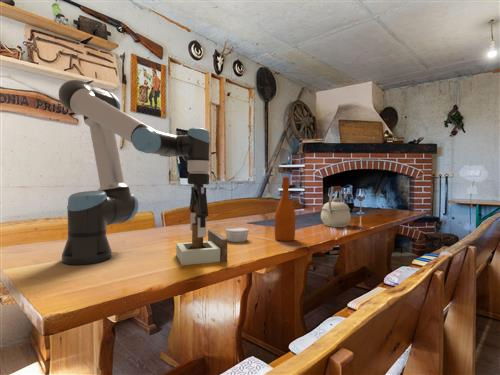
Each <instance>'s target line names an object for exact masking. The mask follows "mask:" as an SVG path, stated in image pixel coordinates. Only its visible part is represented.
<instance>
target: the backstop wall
mask: <svg viewBox="0 0 500 375" xmlns="http://www.w3.org/2000/svg"><path fill="white" fill-rule="evenodd" d="M207 241H212V242H213V243H214V244H216V245H217V246H218V247H219V248H220V262H221V263H226V262H228V239H227V238H226V236H224V235H222V234H220V233H219V232H217V231H216V230H215V229H208V230H207Z"/></svg>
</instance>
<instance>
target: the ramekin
mask: <svg viewBox="0 0 500 375" xmlns="http://www.w3.org/2000/svg"><path fill="white" fill-rule="evenodd" d="M224 232H225V238H226V239H228V240H227V242H230V243H242V242H246V241H247V240H248V237H249V236H248V235H249V232H250V228H245V227H228V228H225V230H224Z"/></svg>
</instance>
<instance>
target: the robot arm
mask: <svg viewBox="0 0 500 375" xmlns="http://www.w3.org/2000/svg"><path fill="white" fill-rule="evenodd" d="M58 98H59V101H60V104H62V106H63V107H64V108H66V109H67V110H68V111H70V112H72V113H73V114H76V115H78V116H82V117H83V123H84V124H85V125H87V126H88V127H89V131H90V137H91V141H92V148H93V153H94V154H93V155H94V157H95V158H94V159H95V164H96V169H97V176H98V181H99V188H97V190H88V191H79V192H75V193H72V194H71V195H69V197H68V198H67V199H68V200H67V209H66V210H67V240H66V242H65V246H64V248H63V251H62V254H61V263H62V264H65V265H71V266H72V265H73V266H74V265H75V266H78V265H79V266H81V265H83V266H84V265H91V264H97V263H101V262H102V263H103V262H105V261H108V260H110V259H111V258H112V248H111V245H110V243H109V240H108V237H107V226H110V225H111V226H112V225H117V224H123V223H125V222H129V221H131V220H133V219H134V218H135V216H136V215H137V213H138V210H139V201H138V198H137V196H136V195H135V194H133V193H131V190H130V186H129V185H128V184H126V183H125V180H124V175H123V169H122V165H121V164H122V163H121V158H120V154H119V148H118V143H117V137H116V135H117V136H119V137H121V138H122V139H124V140H126V141H127V142H129V143H131V144H132V145H133V147H134V149H135V150H136V151H138V152H141V153H144V154H152V155H153V154H154V155H159V156H160V157H168V158H170V157H187V172H188V174H187V184H188V185H191V187H190V190H191V192H190V193H191V194H190V199H189V200H190V201H189V211H190V228H189V229H190V231H192V224H193V223H196V222H195V216H196V213H195V211H194V206H195V205H196V204H197V207H198V214H199V215H197V218H198V237H203V238H207V217H209V209H208V197H207V187H204V185H209V184H210V174H209V172H210V167H212V166H211V163H210V150H211V149H210V145H211V144H210V143H211V141H210V132H209V130H208V129H207V128H202V127H192V128H188V130H187V134H184V135H183V134H179V135H178V134H171V133H166V132H162V131H159V130H157V129H154V128H153V127H151V126H149V125H147V124H146V123H143V122H142V121H140V120H138V119H136V118H134V117H133V116H131V115H130V114H127V112H124V111H122V109H121V103H120V100H119V99H118V97H117V96H116V95H115V94H114V93H113V92H111V91H109V90H107V89H105V88H101V87H99V86H95V85H93V84H90V83H88V82H86V81H84V80H78V79H71V80H67V81H65V82H64V83H62V85H61V86H60V88H59V89H58ZM192 185H193V186H192Z"/></svg>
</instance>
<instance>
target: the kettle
mask: <svg viewBox="0 0 500 375" xmlns="http://www.w3.org/2000/svg"><path fill="white" fill-rule="evenodd" d="M334 191H336V192H337V191H338V195H339V198H338V197H334ZM333 197H334V198H333ZM350 211H351V208H350V207H349V205H348V204H347V203H345V202H343V195H342V186H340V185H339V186H336V185H335V186H330V195H329V199H328V202H326V203H324V204H323V205H322V207H321V212H320V220H321V221H322V222H323V225H324V226H325V225H326V226H325V227H330V226H331V227H330V228H345V226H346V227H348V224H349V223H350V221H351V219H352V216H351V212H350Z"/></svg>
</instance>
